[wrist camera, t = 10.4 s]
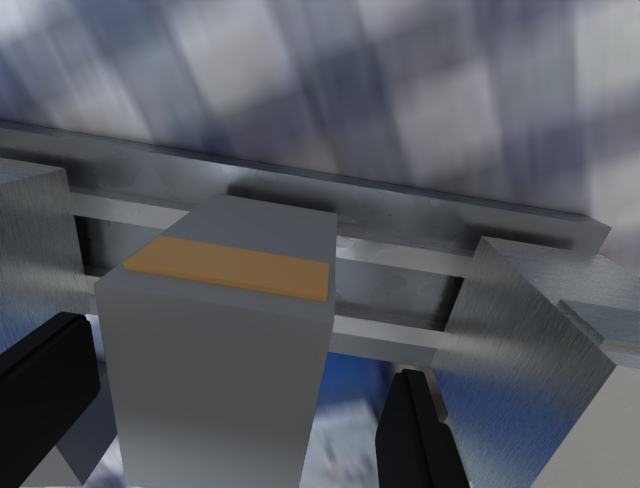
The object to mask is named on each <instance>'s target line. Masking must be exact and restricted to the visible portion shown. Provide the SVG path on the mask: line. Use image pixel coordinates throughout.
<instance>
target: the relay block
mask: <svg viewBox="0 0 640 488" xmlns="http://www.w3.org/2000/svg"><path fill="white" fill-rule="evenodd" d="M97 366H98V372H99V378H100V384H101V387H100V391H99V393H98V395H97V397H96V398H95V399H94V401H93V402H92V403H91V404H90V405H89V406H88V408H87V409H86V410H85V411H84V412H83V413H82V415H81V416H80V417H79V418H78V419H77V420H76V422H75V423H74V424H73V425H72V426H71V427H70V429H69V430H68V431H67V432H66V433H65V434H64V436H63V437H62V438H61V439H60V440H59V441H58V443H57V444H56V445H55V446H54V447H53V448H52V450H51V451H50V452H49V453H48V454H47V455H46V457H45V458H44V459H43V460H42V461H41V463H40V464H39V465H38V466H37V467H36V468H35V470H34V471H33V472H32V473H31V474H30V475H29V477H28V478H27V479H26V480H25V481H24V482H23V484H22V485H21V486H20V487H35V486H83V485H84V483H85V482H86V480H87V479H88V477H89V476H90V474H91V473H92V472H93V470H94V469H95V467H96V466H97V464H98V463H99V461H100V460H101V458H102V457H103V455H104V454H105V452H106V451H107V449H108V448H109V446H110V445H111V443H112V442H113V440H114V439H115V437H116V436H117V434H118V433H117V427H116V420H115V414H114V408H113V402H112V396H111V390H110V384H109V378H108V371H107V365H106V363H97Z"/></svg>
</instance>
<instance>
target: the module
mask: <svg viewBox="0 0 640 488" xmlns="http://www.w3.org/2000/svg"><path fill="white" fill-rule="evenodd" d="M336 238H337V213H331V212H325V211H319V210H313V209H307V208H301V207H295V206H289V205H283V204H277V203H271V202H265V201H259V200H253V199H247V198H241V197H235V196H229V195H223V194H217V193H215V194H213V195H212V196H210V197H209V198H208V199H206V200H205V201H204V202H202V203H201V204H200V205H198V206H197V207H196V208H194V209H193V210H192V211H190V212H189V213H188V214H186V215H185V216H184V217H182V218H181V219H179V220H178V221H177V222H175V223H174V224H173V225H171V226H170V227H169V228H167V229H166V230H165V231H163V232H162V233H161V234H159V235H158V236H157V237H155V238H154V239H153V240H151V241H150V242H148V243H147V244H146V245H144V246H143V247H142V248H140V249H139V250H138V251H136V252H135V253H134V254H132V255H131V256H130V257H128V258H127V259H126V260H124V261H123V262H122V263H120V264H119V265H117V266H116V267H115V268H113V269H112V270H111V271H109V272H108V273H107V274H105V275H104V276H103V277H101V278H100V279H99V280H97V281H96V282H95V283H93V286H94V292H95V298H96V304H97V310H98V316H99V322H100V329H101V335H102V341H103V347H104V353H105V359H106V365H107V371H108V378H109V384H110V390H111V396H112V402H113V408H114V414H115V420H116V427H117V433H118V439H119V445H120V451H121V457H122V463H123V469H124V475H125V482H126V485H131V486H138V487H144V488H299V483H300V479H301V474H302V469H303V465H304V460H305V455H306V451H307V446H308V442H309V437H310V432H311V428H312V423H313V419H314V414H315V409H316V405H317V400H318V395H319V391H320V386H321V382H322V377H323V372H324V368H325V363H326V359H327V354H328V349H329V345H330V340H331V335H332V331H333V326H334V312H335V275H336Z"/></svg>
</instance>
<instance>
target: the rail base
mask: <svg viewBox="0 0 640 488" xmlns="http://www.w3.org/2000/svg"><path fill="white" fill-rule="evenodd" d="M215 193H217V194H223V195H229V196H235V197H241V198H247V199H253V200H259V201H265V202H271V203H277V204H283V205H289V206H295V207H301V208H307V209H313V210H319V211H325V212H331V213H337V238H336V275H335V312H334V326H333V331H332V335H331V340H330V345H329V349H328V352H333V353H339V354H345V355H352V356H358V357H364V358H371V359H377V360H383V361H390V362H396V363H402V364H408V365H415V366H421V367H427V368H433V371H434V374H435V377H436V380H437V382H438V385H439V388H440V391H441V394H442V397H443V400H444V403H445V406H446V409H447V412H448V414H449V417H450V420H451V423H452V426H453V429H454V432H455V435H456V438H457V441H458V443H459V446H460V449H461V452H462V455H463V458H464V461H465V464H466V467H467V470H468V472H469V475H470V478H471V481H472V484H473V487H474V488H640V278H639V277H638V276H636V275H634V274H633V273H631V272H629V271H628V270H626V269H624V268H623V267H621V266H619V265H617V264H616V263H614V262H612V261H611V260H609V259H607V258H606V257H604V256H602V255H597V252H598V251H599V249H600V247H601V245H602V244H603V242H604V240H605V238H606V237H607V235H608V233H609V231H610V230H611V227H609V226H607V225H605V224H603V223H601V222H599V221H597V220H594V219H592V218H590V217H588V216H585V215H579V214H573V213H566V212H560V211H554V210H548V209H542V208H536V207H530V206H524V205H517V204H511V203H505V202H499V201H493V200H487V199H481V198H475V197H469V196H462V195H456V194H450V193H444V192H438V191H432V190H426V189H420V188H413V187H407V186H401V185H395V184H389V183H383V182H377V181H371V180H365V179H358V178H352V177H346V176H340V175H334V174H328V173H322V172H316V171H309V170H303V169H297V168H291V167H285V166H279V165H273V164H267V163H261V162H254V161H248V160H242V159H236V158H230V157H224V156H218V155H212V154H205V153H199V152H193V151H187V150H181V149H175V148H169V147H163V146H156V145H150V144H144V143H138V142H132V141H126V140H120V139H114V138H108V137H101V136H95V135H89V134H83V133H77V132H71V131H65V130H59V129H52V128H46V127H40V126H34V125H28V124H22V123H16V122H10V121H4V120H0V354H1V353H3V352H4V351H6V350H7V349H8V348H10V347H11V346H13V345H14V344H15V343H17V342H18V341H20V340H21V339H22V338H24V337H25V336H27V335H28V334H29V333H31V332H32V331H33V330H35V329H36V328H38V327H39V326H40V325H42V324H43V323H45V322H46V321H47V320H49V319H50V318H52V317H53V316H54V315H56V314H57V313H59V312H63V311H64V312H70V313H76V314H82V315H86V314H93V315H98V310H97V304H96V298H95V292H94V286H93V283H95V282H96V281H97V280H99V279H100V278H101V277H103V276H104V275H105V274H107V273H108V272H109V271H111V270H112V269H113V268H115V267H116V266H117V265H119V264H120V263H122V262H123V261H124V260H126V259H127V258H128V257H130V256H131V255H132V254H134V253H135V252H136V251H138V250H139V249H140V248H142V247H143V246H144V245H146V244H147V243H148V242H150V241H151V240H153V239H154V238H155V237H157V236H158V235H159V234H161V233H162V232H163V231H165V230H166V229H167V228H169V227H170V226H171V225H173V224H174V223H175V222H177V221H178V220H179V219H181V218H182V217H184V216H185V215H186V214H188V213H189V212H190V211H192V210H193V209H194V208H196V207H197V206H198V205H200V204H201V203H202V202H204V201H205V200H206V199H208V198H209V197H210V196H212V195H213V194H215Z"/></svg>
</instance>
